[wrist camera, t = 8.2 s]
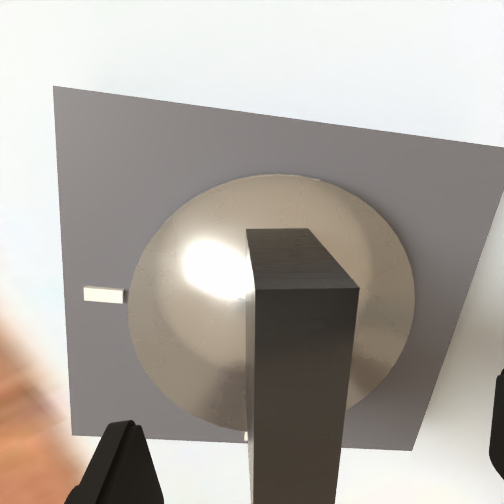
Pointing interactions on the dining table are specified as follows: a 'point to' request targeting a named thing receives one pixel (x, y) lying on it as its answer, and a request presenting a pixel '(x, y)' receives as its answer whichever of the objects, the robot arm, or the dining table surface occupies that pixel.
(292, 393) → the dial
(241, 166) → the control panel
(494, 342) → the dining table surface
